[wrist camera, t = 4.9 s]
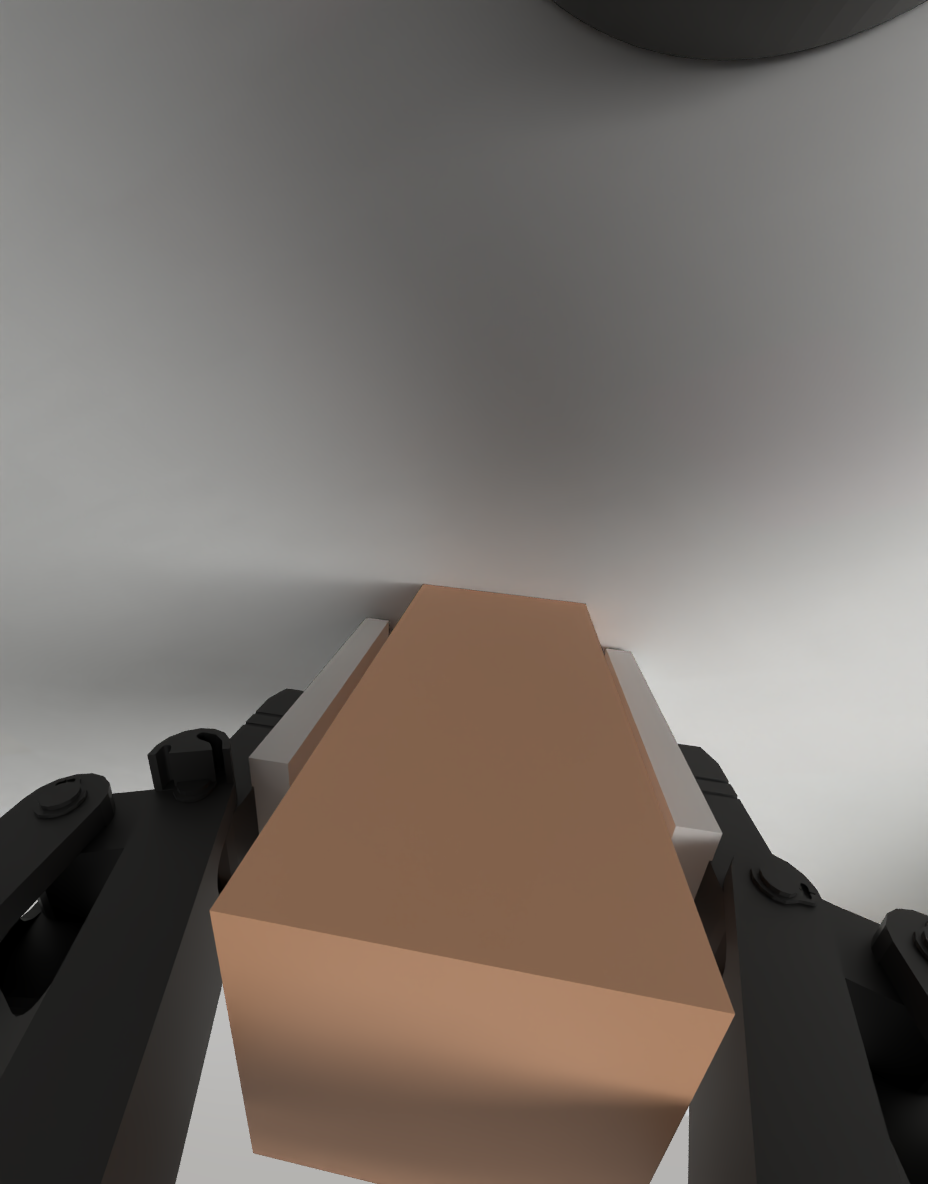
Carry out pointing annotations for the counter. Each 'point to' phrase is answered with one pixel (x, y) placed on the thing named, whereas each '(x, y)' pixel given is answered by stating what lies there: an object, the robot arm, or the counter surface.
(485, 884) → the block
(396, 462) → the counter surface
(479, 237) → the counter surface
